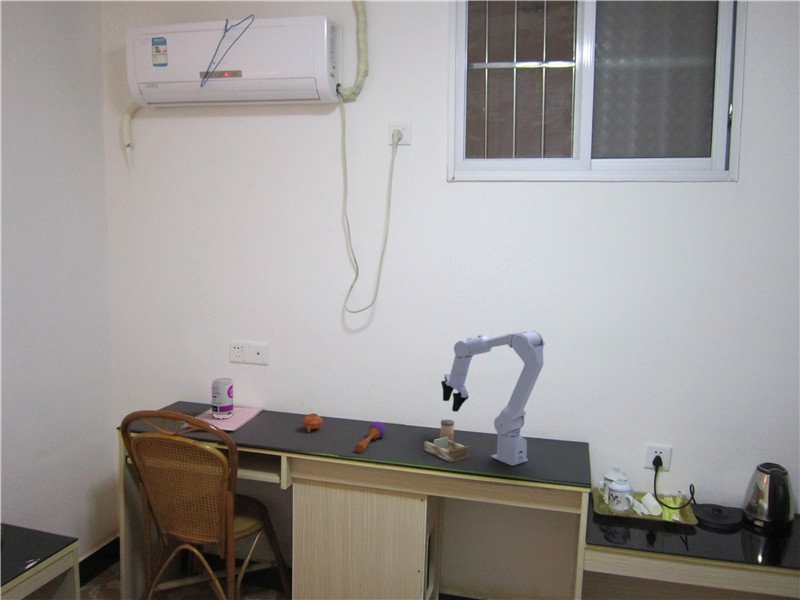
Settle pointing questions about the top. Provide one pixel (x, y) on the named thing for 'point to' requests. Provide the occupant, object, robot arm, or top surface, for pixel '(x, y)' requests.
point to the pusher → (441, 442)
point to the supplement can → (222, 396)
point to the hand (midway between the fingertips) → (450, 405)
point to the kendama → (371, 435)
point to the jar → (447, 429)
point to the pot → (312, 421)
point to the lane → (448, 451)
